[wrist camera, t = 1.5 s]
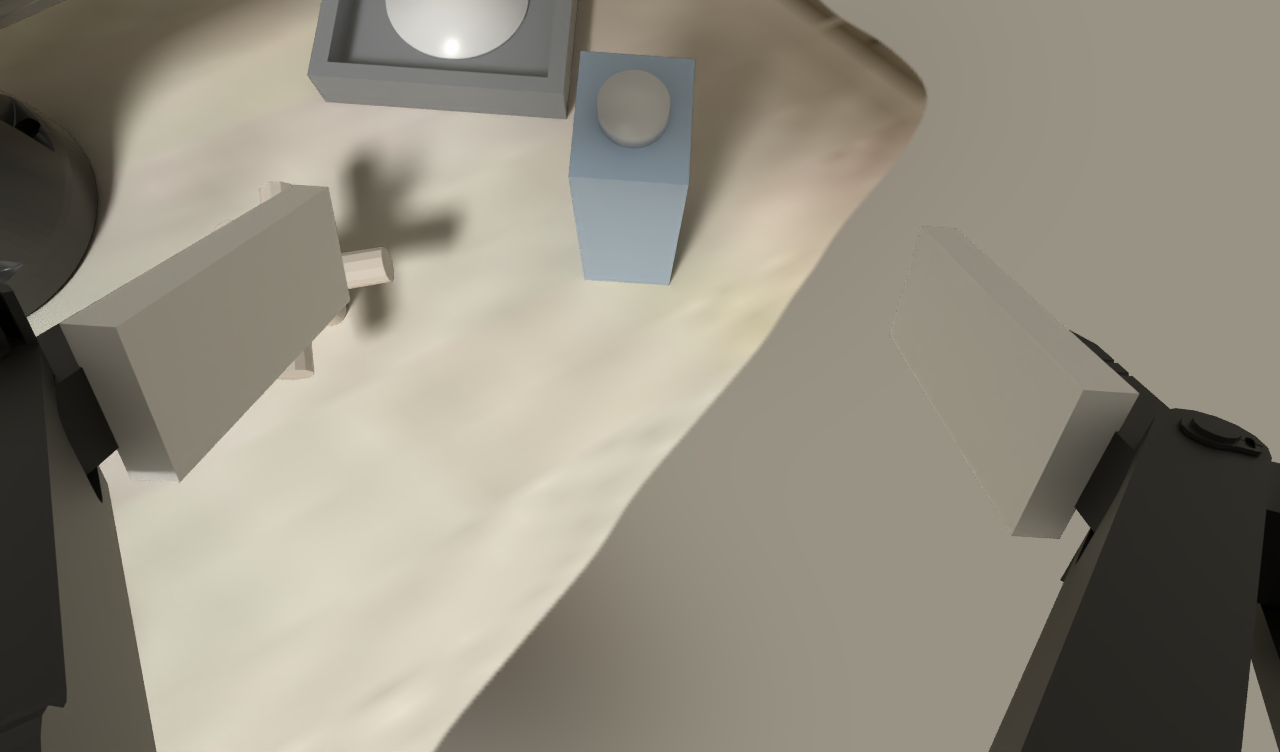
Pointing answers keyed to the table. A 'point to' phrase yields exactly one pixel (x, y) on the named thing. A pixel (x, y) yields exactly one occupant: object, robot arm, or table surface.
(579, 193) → the block
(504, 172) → the table surface
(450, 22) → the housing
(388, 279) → the pipe connector
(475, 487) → the table surface
